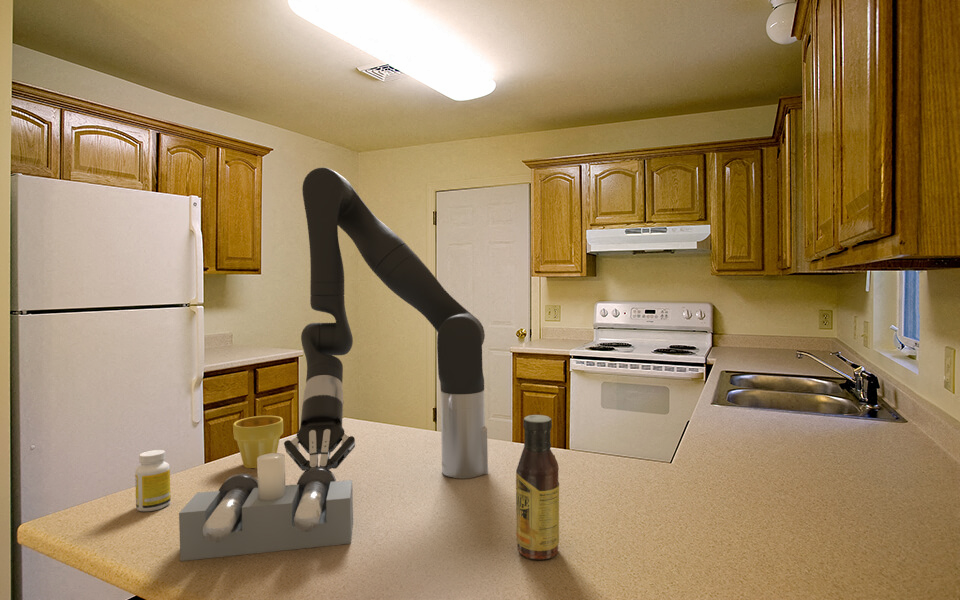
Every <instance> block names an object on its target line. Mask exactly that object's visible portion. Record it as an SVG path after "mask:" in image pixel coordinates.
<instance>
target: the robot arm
mask: <svg viewBox="0 0 960 600" xmlns="http://www.w3.org/2000/svg"><path fill="white" fill-rule="evenodd" d="M302 182H303V183H302V188H301V189H302V197H303V205H304V211H305V216H306V217H305V218H306V223H307V232H308V241H309V242H308V243H309V257H310V281H309V282H310V284H309V287H310V288H309V289H310V290H309V291H310V300H309V301H310V302H309V305H310V307H311V309H312V310H314V311H316V312H321V313H325V314H326V313H327V314H328V315H329V314H330V315H331V316H333V318H334V319H335V322H311V323H309V324H307V325H305V326H304V328H303V329H302V332H301V335H300V341H301V345H302V349H303V353H304V355H305V361H306V380H305V386H304V390H303V396H302V397H303V398H302V406H301V408H302V409H301V417H300V418H301V419H300V428H299V429H298V431H297V432H296V436H295V437H294V438H292V439H291V440H289V439H287V440H285V441H284V442H283V445H284V449H285V452H286V453H287V455H289V457H290V458H291V460H292V461H293V462H294V463H295V464H296V465H297V466H298V468H299V469H300V470H301V471H303V472H305V471H306V470H307V469H309V468H312V467H324V468H327V469H329V470H331V469H333V470H336V469H337V468H338V467H339V466H340V465H341V464H342V463H343V461H344V460H345V459H346V458H347V457H348V455H349V454H350V453H351V452H352V451H353V449H354V448H355V447H356V439H355V437H354V436H353V435H350V436H348V435H347V434H346V432H345V429H344V428H343V414H344V413H343V411H344V389H343V377H344V375H343V373H344V367H343V363H342V361H341V360H340V359H339V358H338V357H337V356H346V355H347V354H349V353H350V351H351V349H352V347H353V343H354V339H353V334H352V329H351V327H350V324H349V320H348V316H347V312H346V311H347V310H346V305H345V302H346V301H345V271H344V263H343V262H344V261H343V257H342V253H341V248H340V243H339V242H340V241H339V233H338V231H339V229H338V228H340V229H341V230H342V231H343V232H344V233H346V235H348V237H349V238H350V239H351V241H352V242H353V243H354V245H355V247H356V248H357V250H358V252H359V254H360V256H361V257H362V258H363V260H364V262H365V263H366V264H367V266H368V267H369V269H370V270H371V271H372V272H373V273H374V274H375V275H376V277H378V278H379V280H380V281H381V282H382V283H383V284H384V285H385V286H386V287H387V288H388V289H389V290H390V291H392V292H393V293H394V294H395V295H396V296H398V298H400V299H402V300H403V301H404V302H406V303H407V304H409V305H410V306H412V308H414V309H415V310H416V311H418V312H419V313H420V314H421V315H422V316H423V317H425V318H426V320H427V321H428V322H429V323H430V325H431V326H432V327H433V328H434V330H435V331H436V332H437V336H436V343H437V344H436V348H437V372H438V373H437V374H438V378H439V385H440V386H439V387H440V423H441V425H440V427H441V428H440V431H441V439H440V440H441V471H442V474H443V475H444V476H446V477H447V478H448V477H450V478H454V479H471V478H476V477H480V476H482V475H488V474H489V467H488V466H489V463H488V459H489V458H488V455H489V453H488V452H489V451H488V428H487V427H486V422H485V421H486V418H485V416H486V415H485V413H486V412H485V411H486V410H485V407H486V406H485V377H484V371H483V369H484V368H483V345H484V342H485V336H486V335H485V328H484V326H483V324H482V323H481V321H480V320H479V319H478V318H477V317H476V316H474V315H473V313H471V312H469V310H467V309H466V308H465V307H464V306H463V305H462V304H460V303H459V302H458V300H456V299H455V297H453V296H451V294H450V293H449V292H448V291H446V289H445V288H444V286H442V284H441V283H440V282H439V280H438V279H437V278H436V276H435V275H434V274H433V273H432V272H431V270H430V269H429V267H427V266H426V264H425V263H424V262H423V261H422V260H421V259H420V256H418V255H417V254H416V253H415V252H414V250H412V248H410V246H409V245H408V244H407V243H405V241H404V240H403V239H402V238H401V237H399V235H397V234H396V232H394V231H393V230H392V229H391V228H390V227H389V226H387V225H386V224H385V223H384V222H382V221H381V220H380V218H378V217H377V216H376V215H375V214H374V213H373V212H372V211H371V210H370V208H369V207H368V205H366V203H365V201H363V200H362V198H361V197H360V195H359V194H358V193H357V191H356V190H355V188H354V187H353V185H352V184H351V183H350V181H348V179H346V178H345V177H344V176H343V175H341V174H339V172H336V171H335V170H333V169H331V168H328V167H323V166H322V167H316V168H314V169H312V170H311V171H309V172H308V173H307V174H306V176H305V178H304V180H303V181H302ZM299 444H300V445H301V447H302V448H303V449H304V450H305V453H307V454H308V455H309V459H306V458H305V456H304V455H303V454H302V453H301V452H300V451H299V450H300V445H299ZM339 444H340V446H339ZM338 446H339V448H337V447H338ZM336 448H337V450H336V451H335V449H336ZM334 451H335V452H334ZM332 452H334V454H333V455H332V456H331V453H332ZM319 455H320V459H319Z"/></svg>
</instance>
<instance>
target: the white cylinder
mask: <svg viewBox="0 0 960 600" xmlns="http://www.w3.org/2000/svg"><path fill="white" fill-rule="evenodd" d="M256 470H257V480H258V498H259V499H260V500H274V499H278V498H281V497H283V496H284V495H285V494H286V486H285V485H286V455H285V454H284V453H281V452H277V453H270V454H265V455H262V456H259V457H258V458H257V468H256Z"/></svg>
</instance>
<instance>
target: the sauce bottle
mask: <svg viewBox="0 0 960 600" xmlns="http://www.w3.org/2000/svg"><path fill="white" fill-rule="evenodd" d="M522 424H523V428H524V429H523V430H524V442H523V443H524V445H523V449H522V452H521V455H520V458H519V462H518V465H517V467H516V469H515V470H516V472H515V486H516V487H515V490H516V491H515V492H516V493H515V504H516V505H515V507H516V509H515V512H516V515H515V517H516V519H515V521H516V523H515V524H516V525H515V526H516V527H515V528H516V532H515V533H516V534H515V535H516V542H517V550H518V552H519V553H520V555H523V556H524V557H525V558H527V559H529V560H536V561H541V560H549V559H552V558H554V557H556V556H557V554H558V551H559V544H560V482H559V463H558V461H557V459H556V455H554V454H553V453H554V452H552V450H551V448H552V443H551V429H552V427H553V426H552V424H553V422H552V418H551V417H549V416H548V415H543V414H532V415H531V414H529V415H526V416H525V417H524V418H523V423H522Z"/></svg>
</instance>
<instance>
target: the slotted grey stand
mask: <svg viewBox="0 0 960 600" xmlns="http://www.w3.org/2000/svg"><path fill="white" fill-rule="evenodd" d="M285 486H286V494H285V495H284V496H283V497H281V498H278V499H274V500H260V499H259V498H258V488H254V489H253V490H252V492H251V493H250V495H249V497H248V498H247V500H246V502H245V503H244V505H243V506H242V513H241V515H240V517H239V518H238V520H237V522H236V523H235V525H234V527H233V528H232V530H231V532H230V533H229V535H228V536H227V538H225V539H224V540H222V541H220V542H211V541H209V540H207V539H206V538H205V536H204V534H203V526H204V524H205V522H206V521H207V520H208V518H209V517H210V516H211V514H212V513H213V512H214V510H215V509H216V507H217V506H218V505H219V503H220V502H221V491H219V490H213V491H211V490H210V491H200V492H196V493H195V494H194V495H193V496H192V497H191V498H190V500H189V501H188V502H187V503H186V504H185V505H184V506H183V507H182V509H181V510H180V511H179V512H178V525H179V558H180V559H179V560H180V562H185V561H193V560H194V561H195V560H203V559H212V558H213V559H214V558H221V557H223V558H224V557H234V556H241V555H242V556H243V555H251V554H252V555H253V554H262V553H271V552H282V551H291V550H300V549H301V550H302V549H309V548H310V549H311V548H319V547H321V548H322V547H331V546H339V545H349V544H352V538H353V526H354V502H353V499H354V498H353V497H354V496H353V495H354V494H353V480H352V479H347V480H336V481H333V482H330V487H329V491H328V495H327V499H326V503H324V504H323V508H322V512H321V516H320V520H319V523H318V525H317V527H316V528H315V529H313V530H312V531H309V532H303V531H300V530H298V529H297V528H296V527H295V525H294V516H295V513H296V510H297V508H298V505H299V502H300V500H299V484H297V483H296V484H285Z"/></svg>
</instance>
